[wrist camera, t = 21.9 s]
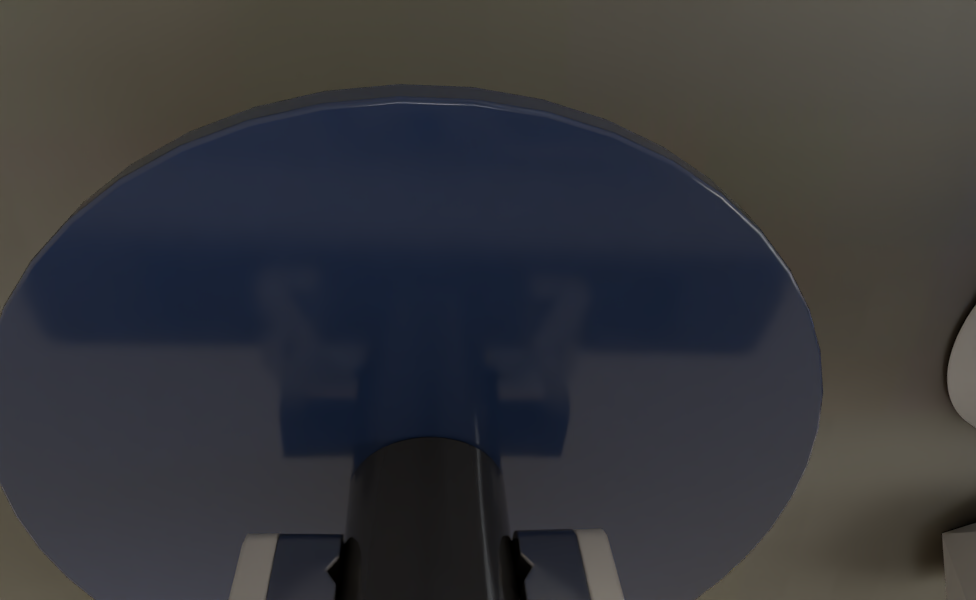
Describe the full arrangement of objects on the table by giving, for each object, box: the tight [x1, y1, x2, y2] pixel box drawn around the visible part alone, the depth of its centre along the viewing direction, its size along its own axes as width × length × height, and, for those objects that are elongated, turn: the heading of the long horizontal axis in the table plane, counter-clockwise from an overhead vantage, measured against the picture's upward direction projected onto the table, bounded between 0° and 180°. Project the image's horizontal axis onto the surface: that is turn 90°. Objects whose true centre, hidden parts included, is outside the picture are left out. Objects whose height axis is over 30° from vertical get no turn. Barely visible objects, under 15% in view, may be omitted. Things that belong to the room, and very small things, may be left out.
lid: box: [0, 84, 823, 600], centre depth 11 cm, size 14×14×6 cm
